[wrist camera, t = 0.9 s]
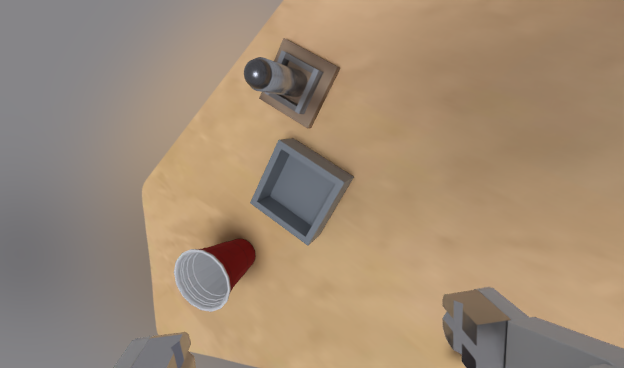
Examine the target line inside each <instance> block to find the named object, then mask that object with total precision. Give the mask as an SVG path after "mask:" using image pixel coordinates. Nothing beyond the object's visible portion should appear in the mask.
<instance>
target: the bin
mask: <svg viewBox="0 0 624 368" xmlns="http://www.w3.org/2000/svg"><path fill="white" fill-rule="evenodd" d="M353 178H354V177H353V176H352V175H350V174H349V173H347V172H345V171H344V170H342V169H341V168H339V167H338V166H336V165H334V164H333V163H331V162H330V161H328V160H327V159H325V158H323V157H322V156H320V155H319V154H317V153H316V152H314V151H312V150H311V149H309V148H308V147H306V146H305V145H303V144H301V143H300V142H298V141H297V140H295V139H294V138H291V139H282V140H278V143H277V145H276V147H275V149H274V151H273V154H272V156H271V158H270V160H269V162H268V165H267V167H266V169H265V171H264V174H263V176H262V178H261V180H260V182H259V185H258V187H257V189H256V191H255V193H254V196H253V198H252V200H251V202H250V203H251V204H252V205H254V206H255V207H256V208H258V209H259V210H260V211H262V212H263V213H264V214H266V215H267V216H268V217H270V218H271V219H273V220H274V221H275V222H277V223H278V224H279V225H281V226H282V227H283V228H285V229H286V230H287V231H289V232H290V233H291V234H293V235H294V236H296V237H297V238H298V239H300V240H301V241H302V242H304V243H305V244H306V245H309V244H310V243H311V242H313V241H314V240H315V239H316V238H317V237H318V236H319V235H320V234H321V232H322V230H323V228H324V227H325V225H326V223H327V222H328V220H329V218H330V217H331V215H332V213H333V212H334V210H335V208H336V206H337V205H338V203H339V201H340V200H341V198H342V196H343V195H344V193H345V191H346V190H347V188H348V186H349V184H350V183H351V181H352V179H353Z"/></svg>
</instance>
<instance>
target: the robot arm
mask: <svg viewBox="0 0 624 368" xmlns="http://www.w3.org/2000/svg"><path fill="white" fill-rule="evenodd" d="M443 307H444V308H445V310H446V311H447V312H446V314H445V315H444V317H443V330H444V333H445V337H446V339H447V341H448V343H449V344H450V346H451V347H452V349H453V350H454V351H456V352H458V353H460V354H462V362H463V364H464V365H465V366H466V368H624V349H623V348H620V347H617V346H615V345H612V344H609V343H606V342H603V341H601V340H598V339H595V338H592V337H589V336H587V335H584V334H581V333H578V332H576V331H573V330H570V329H567V328H564V327H562V326H559V325H556V324H553V323H550V322H548V321H545V320H542V319H539V318H536V317H528V316H527V315H526V314H525V313H523V312H522V311H521V310H520V309H518V308H517V307H516V306H515V305H514V304H512V303H511V302H510V301H509V300H507V299H506V298H505V297H504V296H502V295H501V294H500V293H499V292H497V291H496V290H495V289H494V288H491V287H484V288H479V289H474V290H470V291H464V292H457V293H451V294H444V296H443ZM190 345H191V341H190V337H189V334H188V333H186V332H182V333H173V334H165V335H157V336H153V337H152V336H151V337H143V338H137V339H135V340H133V341H132V342H131V343H130V344H129V346H128V347H127V349H126V350H125V352H124V353H123V355H122V356H121V358H120V359H119V360H118V362H117V363H116V365H115V366H114V367H113V368H196V367H195V359H194V356H193V355H192V354H191V353H190V352H189V351H188V350H189V347H190Z"/></svg>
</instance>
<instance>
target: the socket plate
mask: <svg viewBox="0 0 624 368" xmlns="http://www.w3.org/2000/svg"><path fill="white" fill-rule="evenodd" d="M274 62H277V63H280V64H282V65H285V66H288V67H291V68H294V69H297V70H299V71H302V72H303V73H304V74H305V75H306V77H307V82H308V83H307V85H306V88H305V90H304V92H303V94H302V95H301V96H299V97H291V96H285V95H279V94H273V93H267V92H262V93H261V96H260V98H259V99H261V100H263V101H264V102H266V103H267V104H269V105H271V106H272V107H274V108H276V109H277V110H279V111H280V112H282V113H284V114H285V115H287V116H289V117H290V118H292V119H293V120H295V121H297V122H298V123H300V124H302V125H303V126H305V127H306V128H311V127H312V125H313V123H314V121H315V119H316V117H317V115H318V113H319V110H320V108H321V106H322V104H323V102H324V100H325V98H326V96H327V94H328V92H329V90H330V88H331V86H332V84H333V82H334V80H335V78H336V76H337V74H338V72H339V70H340V68H339V67H337V66H335V65H333V64H332V63H330V62H328V61H326V60H324V59H322V58H320V57H318V56H317V55H315V54H313V53H311V52H309V51H307V50H305V49H303V48H302V47H300V46H298V45H296V44H294V43H292V42H290V41H289V40H287V39H285V38H283V41H282V43H281V46H280V48H279V51H278V53H277V56H276V58H275V61H274Z"/></svg>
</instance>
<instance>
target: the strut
mask: <svg viewBox="0 0 624 368" xmlns="http://www.w3.org/2000/svg"><path fill="white" fill-rule="evenodd" d="M244 77H245V80H246V82H247V83H248V84H249V85H250V86H251V88H253V89H254V90H256V91H261V92H267V93H273V94H279V95H285V96H291V97H299V96H301V95H302V94H303V92H304V90H305V88H306V85H307V83H308V82H307V77H306V75H305V74H304V73H303V72H302V71H299V70H297V69H294V68H291V67H288V66H285V65H282V64H280V63H277V62H274V61H271V60H268V59H266V58H262V57H258V58H255V59H253V60H251V61H249V62H248V63H247V65H246V66H245V69H244Z"/></svg>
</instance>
